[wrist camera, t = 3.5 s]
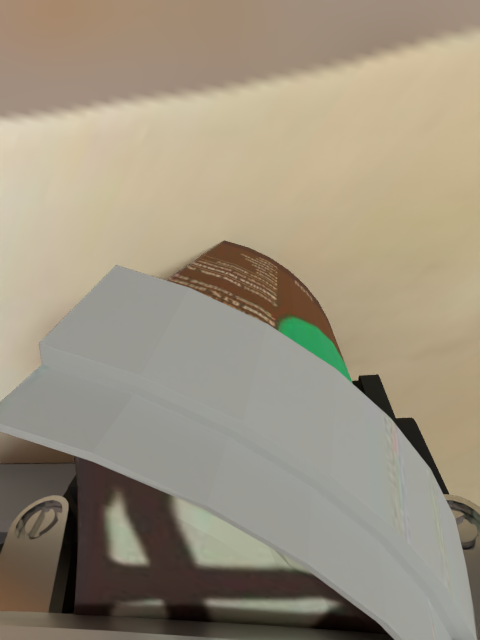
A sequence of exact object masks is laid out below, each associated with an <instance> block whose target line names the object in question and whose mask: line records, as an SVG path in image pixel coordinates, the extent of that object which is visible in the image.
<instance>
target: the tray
mask: <svg viewBox="0 0 480 640" xmlns="http://www.w3.org/2000/svg"><path fill="white" fill-rule="evenodd" d="M75 475H76V468H75V463H59V464H0V544H2V543H4V542H5V539H6V537H7V534H8V531H9V528H10V526H11V524H12V523H13V521H14V520H15V518H16V517H17V516H18V515H19V513H20V512H22V511H23V510H24V509H25V508H26V507H27V506H29V505H30V504H32V503H34V502H35V501H37V500H39V499H42V498H44V497H48V496H53V495H57V496H62V497H63V495H64V494H65V492H66V491H67V489H68V486H69V484H70V483H71V481H72V480H73V478H74V477H75Z"/></svg>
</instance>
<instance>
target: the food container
mask: <svg viewBox="0 0 480 640" xmlns="http://www.w3.org/2000/svg"><path fill="white" fill-rule="evenodd" d="M39 347H40V355H41V361H42V365H41V366H40V367H39V368H38V369H36V370H35V371H34V372H33V373H32V374H31V375H30V376H29V377H28V378H26V379H25V380H24V381H23V382H22V383H21V384H20V385H19V386H18V387H16V388H15V389H14V390H13V391H12V392H11V393H10V394H9V395H8V396H6V397H5V398H4V399H3V400H2V401H1V402H0V432H3V433H6V434H9V435H12V436H15V437H18V438H21V439H25V440H28V441H31V442H34V443H37V444H40V445H43V446H46V447H49V448H52V449H55V450H58V451H62V452H65V453H68V454H71V455H74V458H75V468H76V477H77V486H78V553H77V571H76V590H75V604H74V613H73V614H74V615H97V616H118V617H136V618H152V619H169V620H186V621H202V622H219V623H235V624H251V625H266V626H281V627H296V628H311V629H326V630H341V631H356V632H368V633H380V634H387V635H390V636H391V637H392V638H393V639H394V640H479V636H478V630H477V625H476V619H475V613H474V608H473V602H472V596H471V591H470V585H469V579H468V574H467V568H466V563H465V558H464V554H463V550H462V545H461V541H460V537H459V532H458V528H457V524H456V520H455V517H454V515H453V513H452V511H451V509H450V507H449V505H448V503H447V501H446V499H445V497H444V495H443V493H442V491H441V489H440V487H439V485H438V483H437V481H436V479H435V477H434V475H433V473H432V471H431V469H430V468H429V466H428V465H427V464H426V462H425V461H424V460H423V459H422V457H421V456H420V455H419V454H418V452H417V451H416V450H415V448H414V447H413V446H412V445H411V443H410V442H409V441H408V440H407V438H406V437H405V436H404V434H403V433H402V432H401V431H400V429H399V428H398V427H397V425H396V424H395V423H394V422H393V420H392V419H391V418H390V417H389V416H388V415H387V414H386V413H384V412H383V411H382V410H381V409H380V408H379V407H378V406H377V405H376V404H374V403H373V402H372V401H371V400H370V399H369V398H368V397H367V396H366V395H365V394H363V393H362V392H361V391H360V390H359V389H358V388H357V387H356V386H355V385H353V383H352V381H351V378H350V376H349V373H348V370H347V368H346V365H345V363H344V360H343V357H342V355H341V352H340V350H339V347H338V344H337V342H336V339H335V337H334V334H333V331H332V329H331V326H330V323H329V321H328V319H327V317H326V315H325V313H324V311H323V310H322V308H321V306H320V304H319V302H318V301H317V300H316V298H315V297H314V296H313V295H312V293H311V292H310V291H309V290H308V288H307V287H306V286H305V285H304V284H303V283H302V282H301V281H300V280H299V279H298V278H297V277H296V276H294V275H293V274H292V273H291V272H290V271H289V270H288V269H286V268H285V267H283V266H282V265H280V264H279V263H277V262H276V261H274V260H273V259H271V258H270V257H267V256H265V255H263V254H261V253H259V252H257V251H255V250H252V249H250V248H248V247H245V246H241V245H238V244H234V243H231V242H228V241H223V242H221V243H220V244H218V245H217V246H215V247H214V248H213V249H211V250H210V251H208V252H207V253H205V254H204V255H202V256H201V257H199V258H198V259H197V260H195V261H194V262H192V263H191V264H189V265H188V266H186V267H185V268H184V269H182V270H181V271H179V272H178V273H176V274H175V275H173V276H172V277H171V278H169V279H168V280H163V279H160V278H156V277H153V276H150V275H147V274H144V273H140V272H137V271H134V270H131V269H127V268H124V267H121V266H118V265H116V266H115V267H114V268H113V269H112V270H111V271H110V272H109V273H108V274H107V275H106V276H105V277H104V278H103V279H102V280H101V281H100V282H99V283H98V284H97V285H96V286H95V287H94V288H93V289H92V290H91V291H90V292H89V293H88V294H87V295H86V296H85V297H84V298H83V299H82V300H81V301H80V302H79V303H78V304H77V305H76V306H75V307H74V308H73V309H72V310H71V311H70V312H69V313H68V314H67V315H66V316H65V317H64V318H63V319H62V320H61V321H60V322H59V323H58V324H57V325H56V326H55V328H54V329H53V330H52V331H51V332H50V333H49V334H48V335H47V336H46V337H45V338H44V339H43V340H42V341H41V342H40V343H39Z"/></svg>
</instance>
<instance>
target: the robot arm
mask: <svg viewBox="0 0 480 640" xmlns="http://www.w3.org/2000/svg"><path fill="white" fill-rule="evenodd" d="M352 383H353V385H355V386H356V387H357V388H358V389H359V390H360V391H361V392H362V393H363V394H365V395H366V396H367V397H368V398H369V399H370V400H371V401H372V402H373V403H374V404H376V405H377V406H378V407H379V408H380V409H381V410H382V411H383V412H384V413H386V414H387V415H388V416H389V417H390V418H391V419H392V420H393V422H394V423H395V424H396V425H397V427H398V428H399V429H400V431H401V432H402V433H403V434H404V436H405V437H406V438H407V440H408V441H409V442H410V443H411V445H412V446H413V447H414V448H415V450H416V451H417V452H418V454H419V455H420V456H421V457H422V459H423V460H424V461H425V462H426V464H427V465H428V466H429V468H430V469H431V471H432V473H433V475H434V477H435V479H436V481H437V483H438V485H439V487H440V489H441V491H442V493H443V495H444V497H445V499H446V501H447V503H448V505H449V507H450V509H451V511H452V513H453V515H454V517H455V520H456V524H457V528H458V532H459V537H460V541H461V545H462V550H463V554H464V558H465V563H466V568H467V574H468V579H469V585H470V591H471V596H472V602H473V608H474V613H475V619H476V625H477V630H478V636H479V640H480V507H479V506H477V505H476V504H474V503H473V502H471V501H469V500H467V499H464V498H462V497H459V496H455V495H449V492H448V490H447V488H446V486H445V484H444V482H443V480H442V477H441V475H440V473H439V471H438V469H437V467H436V464H435V462H434V460H433V458H432V456H431V454H430V452H429V449H428V447H427V445H426V443H425V441H424V439H423V436H422V434H421V432H420V430H419V428H418V426H417V424H416V422H415V420H414V419H413V418H395V415H394V413H393V410H392V408H391V405H390V403H389V400H388V398H387V395H386V393H385V390H384V388H383V385H382V382H381V380H380V377H379V375H364V376H359V381H352ZM77 553H78V486H77V477H76V475H75V477H74V478H73V480H72V481H71V483H70V484H69V486H68V489H67V491H66V492H65V494H64V495H63V497H62V496H57V495H53V496H48V497H44V498H42V499H39V500H37V501H35V502H34V503H32V504H30V505H29V506H27V507H26V508H25V509H24V510H23V511H22V512H20V513H19V515H18V516H17V517H16V518H15V520H14V521H13V523H12V524H11V526H10V528H9V531H8V534H7V537H6V539H5V542H4V543H2V544H0V640H394V639H393V638H392V637H391V636H390V635H387V634H380V633H368V632H356V631H341V630H326V629H311V628H296V627H281V626H266V625H251V624H235V623H219V622H202V621H186V620H169V619H152V618H136V617H118V616H97V615H74V614H73V613H74V604H75V590H76V571H77Z"/></svg>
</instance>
